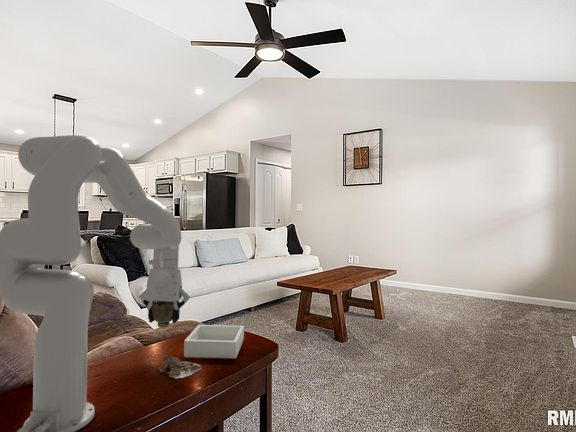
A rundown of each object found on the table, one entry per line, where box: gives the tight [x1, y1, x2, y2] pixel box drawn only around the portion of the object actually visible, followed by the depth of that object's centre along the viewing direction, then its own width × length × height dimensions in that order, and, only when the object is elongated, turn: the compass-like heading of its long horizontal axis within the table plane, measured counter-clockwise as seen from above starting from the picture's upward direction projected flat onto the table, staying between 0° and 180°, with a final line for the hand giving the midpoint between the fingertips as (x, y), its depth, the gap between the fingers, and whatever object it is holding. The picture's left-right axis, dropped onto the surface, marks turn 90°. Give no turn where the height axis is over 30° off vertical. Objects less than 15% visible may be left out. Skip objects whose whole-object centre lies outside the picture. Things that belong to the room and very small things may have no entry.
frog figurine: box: [159, 353, 202, 379], centre depth 101 cm, size 12×12×4 cm
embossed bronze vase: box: [152, 302, 174, 329], centre depth 112 cm, size 8×7×8 cm
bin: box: [183, 324, 245, 359], centre depth 117 cm, size 16×16×5 cm
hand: (163, 321), depth 112 cm, fingers closed on embossed bronze vase, 6 cm apart
